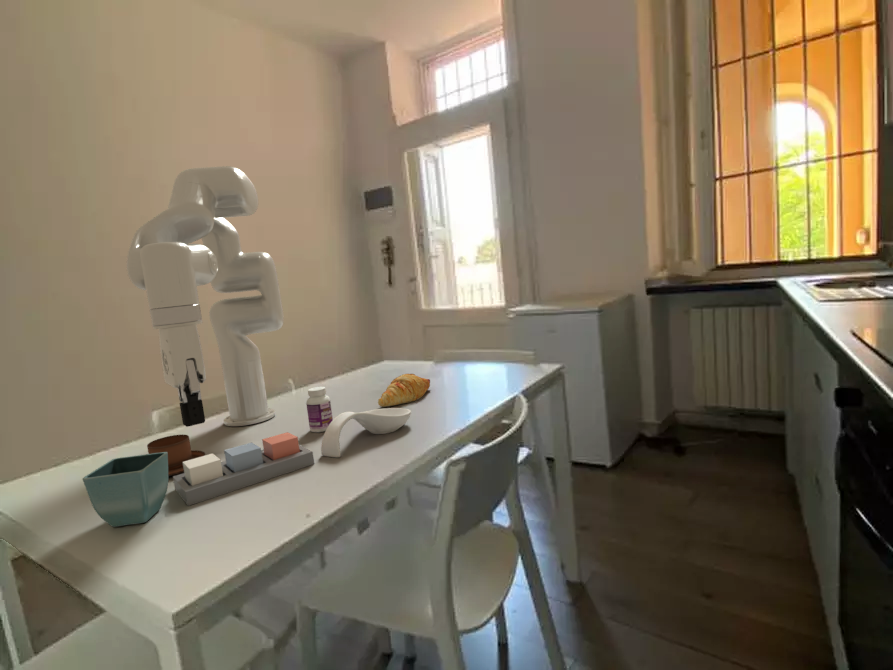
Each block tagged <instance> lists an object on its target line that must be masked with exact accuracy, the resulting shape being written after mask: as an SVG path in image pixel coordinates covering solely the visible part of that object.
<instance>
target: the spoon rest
mask: <svg viewBox="0 0 893 670" xmlns="http://www.w3.org/2000/svg"><path fill="white" fill-rule="evenodd" d="M411 414H412V410H411V409H408V408H400V407H391V408H390V407H387V408H377V409H370V410H366V411H365V410H364V411H361V412H360V411H359V412H353V411H345V412H341V413H340V414H338V415H337V416H336V417H334V418H333V421H332V422H331V423H330V424H329V426H328V428H327V429H326V431H324V434H323V437H322V441H321V447H320V450H321V451H320V452H321V455H322V456H324V457H330V458H331V457H332V458H341V456H342V453H341V445H340V436H341V432H342V429H343V428H344V427H345V425H346V424H347V423H348V422H349V421H351V420H352V419H353V420H355V422H357V423H358V424H359V425H361V426H362V427H363V428H364V429H365V430H367V431H369V432H370V433H371V434H373V435H374V434H375V435H384V434H389V433H393V432H396V431H397V430H399V429H400V428H401V427H403V426H404V425H405V424H406V423H407V422H408V420H409V419H410V416H411Z"/></svg>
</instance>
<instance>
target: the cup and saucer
mask: <svg viewBox="0 0 893 670" xmlns="http://www.w3.org/2000/svg"><path fill="white" fill-rule="evenodd" d="M190 441H191V440H190V436H189V435H188V434H173V435H168V436H164V437H160V438H158V439H157V438H156V439H155V440H154V439H153V440H152V441H150V442H149V443H147V445H146V447H147V452H148V453H147V454H153V453H161V452H168V477H171V476H172V477H173V476H176V475H179V474H183V473H184V468H183V462H184V461H188V460H191V459H195V458H198V457H202V456H205V455H206V453H205V451H202V450H192V447H191V442H190Z"/></svg>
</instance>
